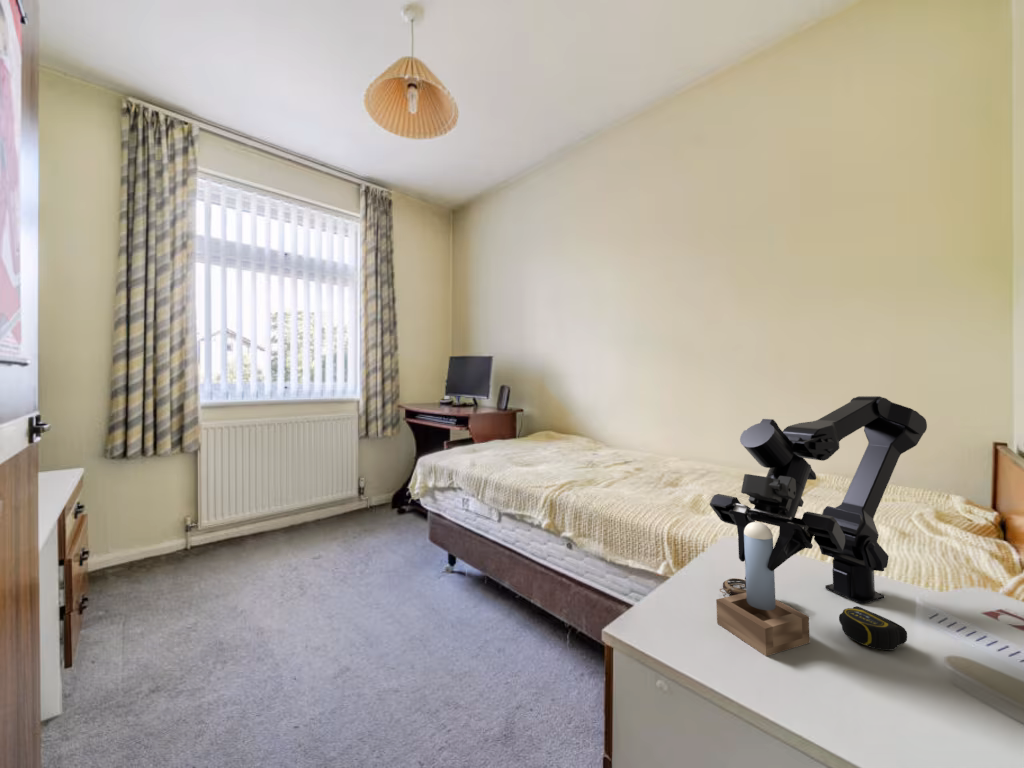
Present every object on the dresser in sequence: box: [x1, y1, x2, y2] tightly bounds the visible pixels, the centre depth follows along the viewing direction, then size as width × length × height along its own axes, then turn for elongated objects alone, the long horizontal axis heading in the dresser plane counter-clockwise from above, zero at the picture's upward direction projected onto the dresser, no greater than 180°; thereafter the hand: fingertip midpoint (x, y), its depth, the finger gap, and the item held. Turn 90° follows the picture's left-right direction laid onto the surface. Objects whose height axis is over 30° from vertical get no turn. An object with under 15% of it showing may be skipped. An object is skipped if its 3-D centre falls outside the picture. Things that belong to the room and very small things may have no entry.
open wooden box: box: [716, 593, 811, 657], centre depth 65 cm, size 9×9×4 cm
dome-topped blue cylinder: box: [744, 521, 776, 610], centre depth 65 cm, size 4×4×13 cm
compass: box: [719, 575, 746, 596], centre depth 78 cm, size 8×8×7 cm
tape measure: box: [838, 606, 908, 651], centre depth 62 cm, size 7×7×4 cm
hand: (755, 564), depth 65 cm, fingers closed on dome-topped blue cylinder, 4 cm apart
